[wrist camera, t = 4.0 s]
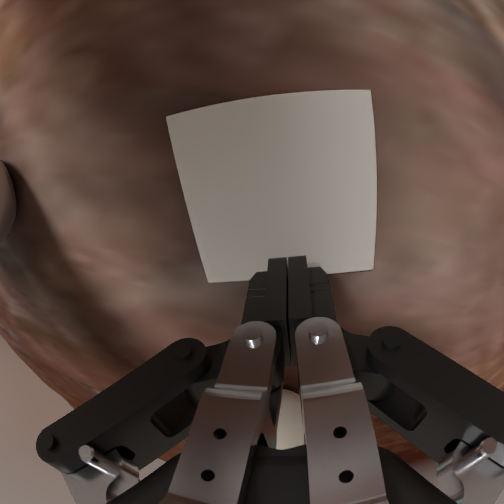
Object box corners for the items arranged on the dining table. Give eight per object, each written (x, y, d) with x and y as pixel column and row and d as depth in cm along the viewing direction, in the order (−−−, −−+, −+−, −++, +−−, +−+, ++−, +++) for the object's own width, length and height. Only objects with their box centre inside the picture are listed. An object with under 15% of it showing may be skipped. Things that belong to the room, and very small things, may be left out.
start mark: (167, 116, 10) (165, 116, 9) (369, 90, 8) (370, 89, 8) (209, 280, 14) (208, 282, 13) (372, 267, 12) (373, 269, 12)
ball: (239, 396, 20) (230, 381, 16) (307, 393, 20) (317, 376, 16) (240, 459, 16) (230, 463, 12) (311, 455, 16) (324, 458, 12)
